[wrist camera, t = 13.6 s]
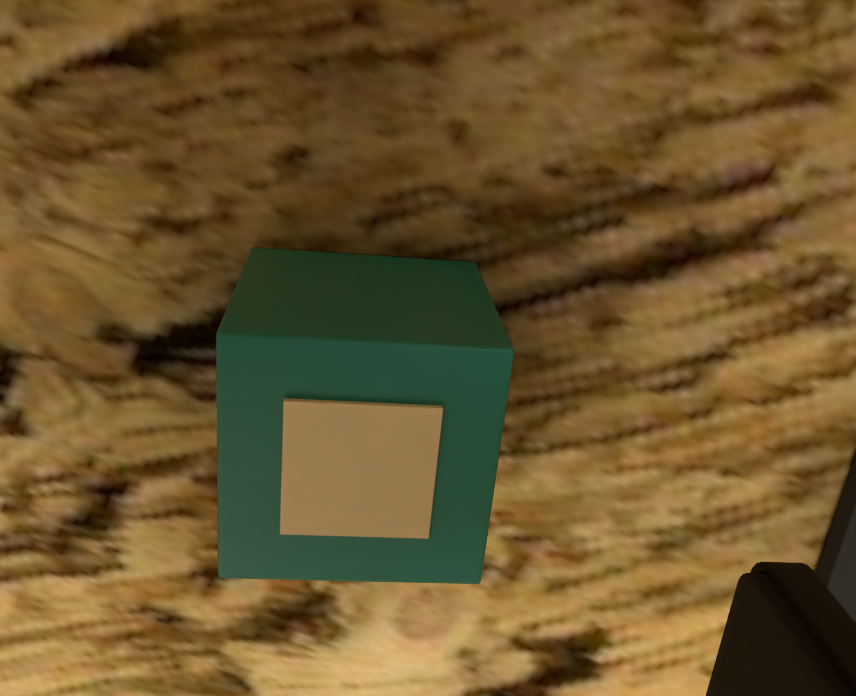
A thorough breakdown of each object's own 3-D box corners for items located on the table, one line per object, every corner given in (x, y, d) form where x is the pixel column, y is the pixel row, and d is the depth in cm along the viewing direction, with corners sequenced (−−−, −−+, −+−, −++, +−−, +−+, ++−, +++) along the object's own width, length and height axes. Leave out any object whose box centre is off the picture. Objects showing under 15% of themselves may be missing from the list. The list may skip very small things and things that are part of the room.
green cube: (251, 246, 16) (214, 335, 12) (476, 261, 16) (516, 351, 12) (249, 444, 18) (216, 583, 13) (453, 453, 18) (482, 589, 14)
